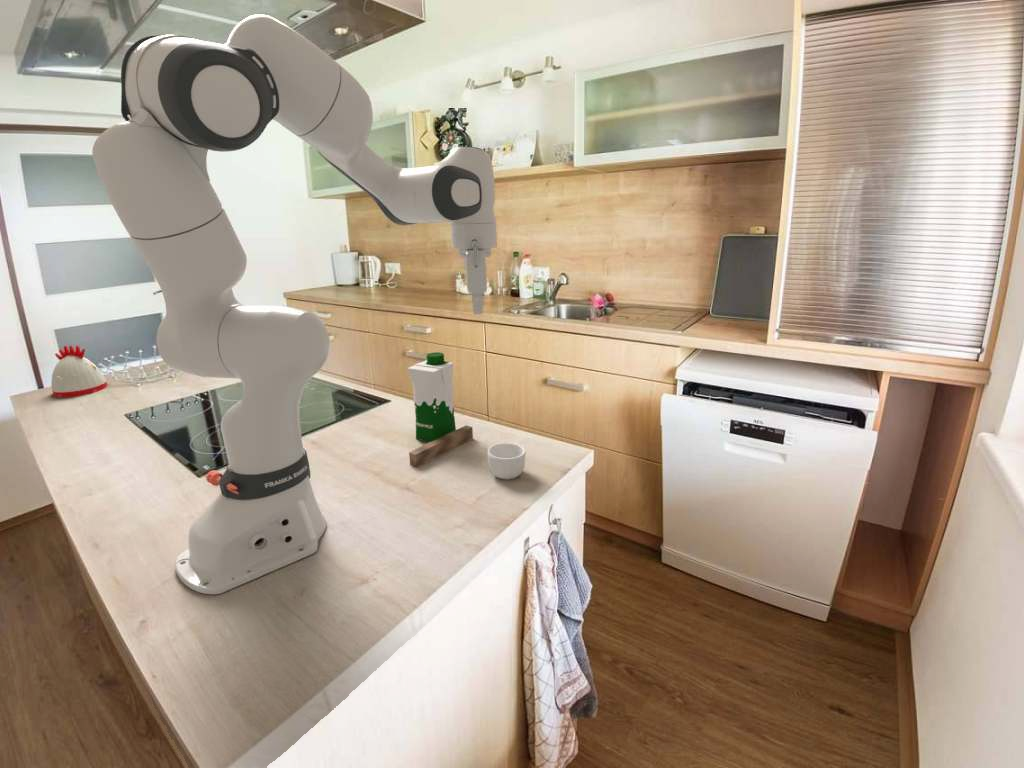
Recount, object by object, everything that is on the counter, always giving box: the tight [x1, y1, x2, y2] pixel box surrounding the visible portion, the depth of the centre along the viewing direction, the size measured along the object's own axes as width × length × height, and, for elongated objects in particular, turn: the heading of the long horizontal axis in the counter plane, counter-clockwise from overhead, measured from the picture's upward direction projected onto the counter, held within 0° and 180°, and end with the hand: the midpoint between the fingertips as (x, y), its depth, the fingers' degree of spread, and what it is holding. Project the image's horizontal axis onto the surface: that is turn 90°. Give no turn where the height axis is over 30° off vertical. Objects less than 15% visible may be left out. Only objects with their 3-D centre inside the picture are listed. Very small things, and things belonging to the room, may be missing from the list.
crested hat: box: [50, 344, 108, 398], centre depth 166 cm, size 14×14×15 cm
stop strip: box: [408, 424, 474, 468], centre depth 116 cm, size 18×2×3 cm, turn 142°
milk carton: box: [407, 352, 457, 443], centre depth 122 cm, size 9×9×20 cm
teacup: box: [485, 442, 527, 480], centre depth 106 cm, size 10×8×5 cm
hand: (477, 309), depth 105 cm, fingers open, 8 cm apart
